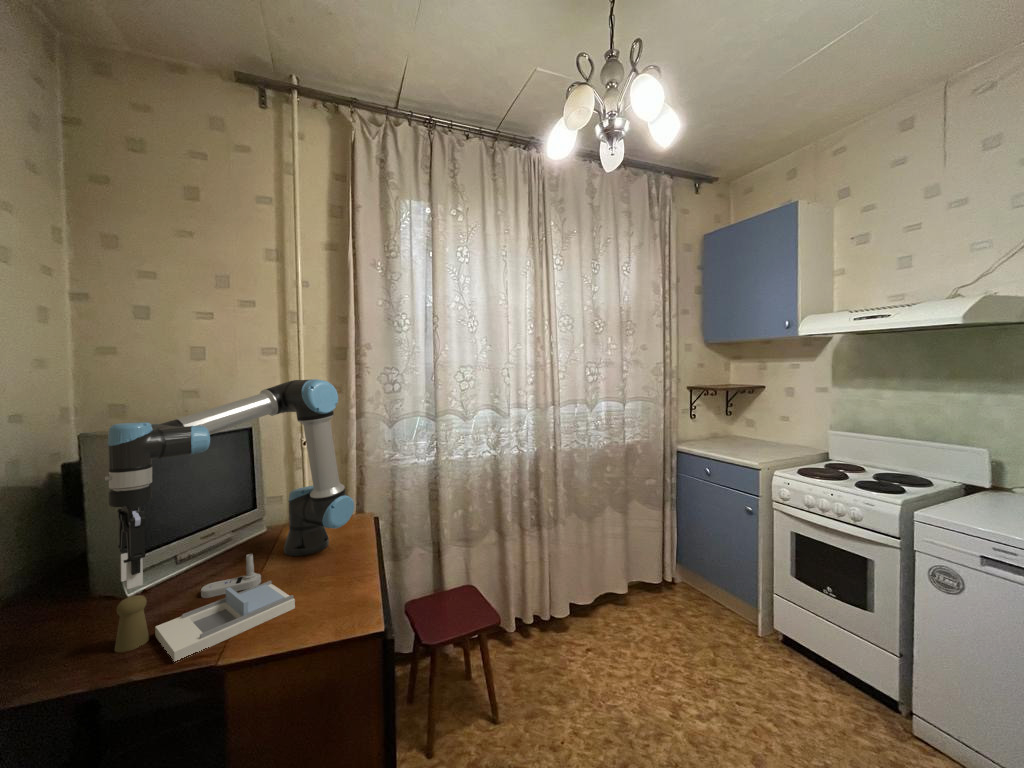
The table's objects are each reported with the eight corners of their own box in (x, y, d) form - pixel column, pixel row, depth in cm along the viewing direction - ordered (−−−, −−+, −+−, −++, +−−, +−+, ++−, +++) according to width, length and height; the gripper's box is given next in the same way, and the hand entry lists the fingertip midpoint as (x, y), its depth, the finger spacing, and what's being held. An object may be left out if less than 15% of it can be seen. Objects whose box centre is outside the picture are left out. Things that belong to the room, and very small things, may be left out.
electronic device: (202, 560, 117) (260, 549, 124) (204, 592, 118) (262, 579, 124) (197, 568, 113) (258, 556, 119) (199, 601, 113) (259, 587, 119)
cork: (129, 636, 96) (129, 592, 96) (156, 634, 97) (155, 591, 97) (106, 653, 90) (106, 606, 90) (134, 651, 91) (134, 604, 91)
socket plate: (269, 590, 117) (269, 579, 117) (294, 608, 108) (294, 596, 108) (155, 636, 96) (155, 623, 96) (174, 663, 87) (174, 648, 87)
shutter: (265, 586, 115) (265, 573, 115) (285, 599, 108) (284, 586, 108) (225, 601, 107) (225, 588, 107) (243, 617, 100) (243, 603, 100)
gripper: (101, 484, 96) (102, 578, 96) (117, 496, 85) (118, 602, 85) (142, 478, 102) (143, 566, 102) (162, 489, 91) (162, 587, 91)
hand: (131, 582), depth 94 cm, fingers open, 5 cm apart
